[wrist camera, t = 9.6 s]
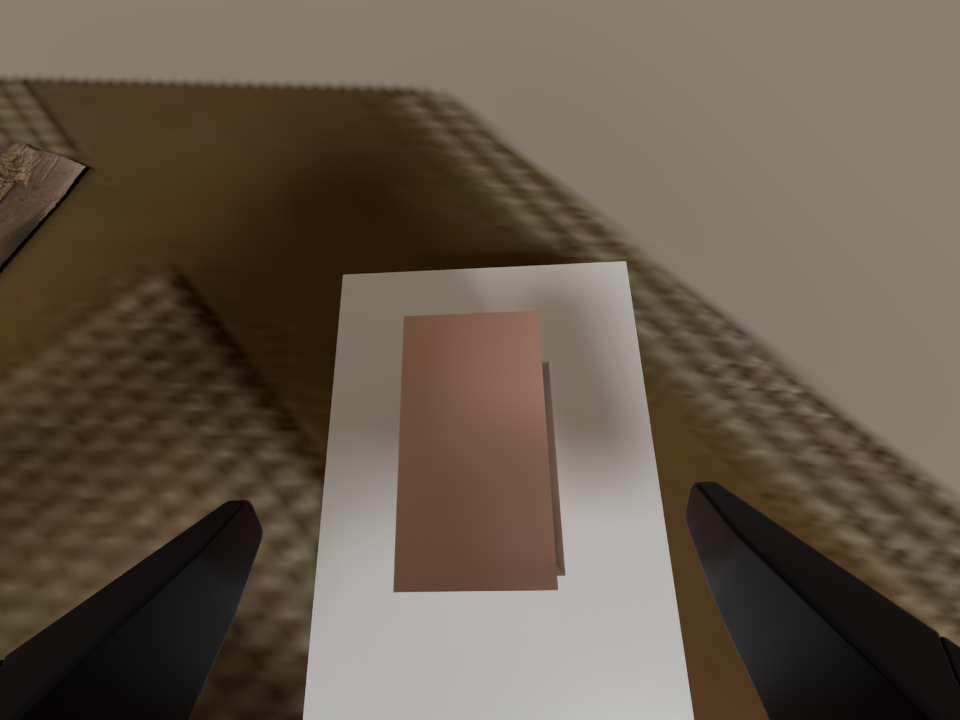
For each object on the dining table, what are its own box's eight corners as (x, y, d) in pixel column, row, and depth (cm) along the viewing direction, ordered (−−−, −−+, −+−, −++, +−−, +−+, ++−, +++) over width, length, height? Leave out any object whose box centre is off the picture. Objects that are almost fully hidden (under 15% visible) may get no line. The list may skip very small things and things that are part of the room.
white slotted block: (650, 675, 16) (696, 732, 12) (348, 676, 17) (301, 731, 13) (603, 303, 21) (625, 261, 17) (371, 312, 21) (343, 274, 18)
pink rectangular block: (527, 534, 17) (558, 590, 7) (454, 535, 17) (393, 592, 8) (520, 403, 19) (538, 310, 9) (454, 405, 19) (403, 316, 9)
